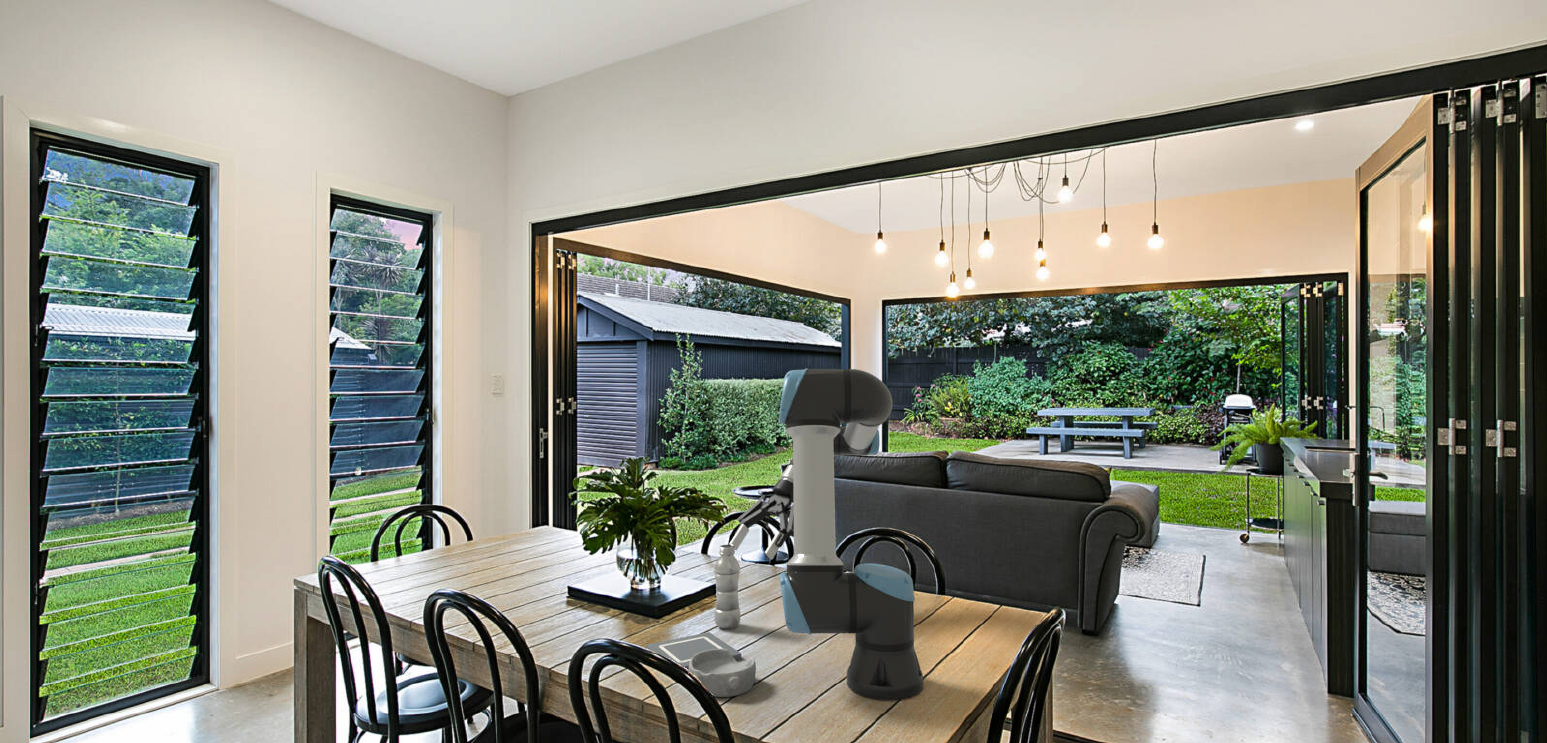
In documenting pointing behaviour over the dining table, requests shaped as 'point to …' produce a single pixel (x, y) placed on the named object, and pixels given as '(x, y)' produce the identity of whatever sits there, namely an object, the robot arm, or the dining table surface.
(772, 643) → the dining table surface
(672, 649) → the slate board
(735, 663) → the dish
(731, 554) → the plastic bottle
